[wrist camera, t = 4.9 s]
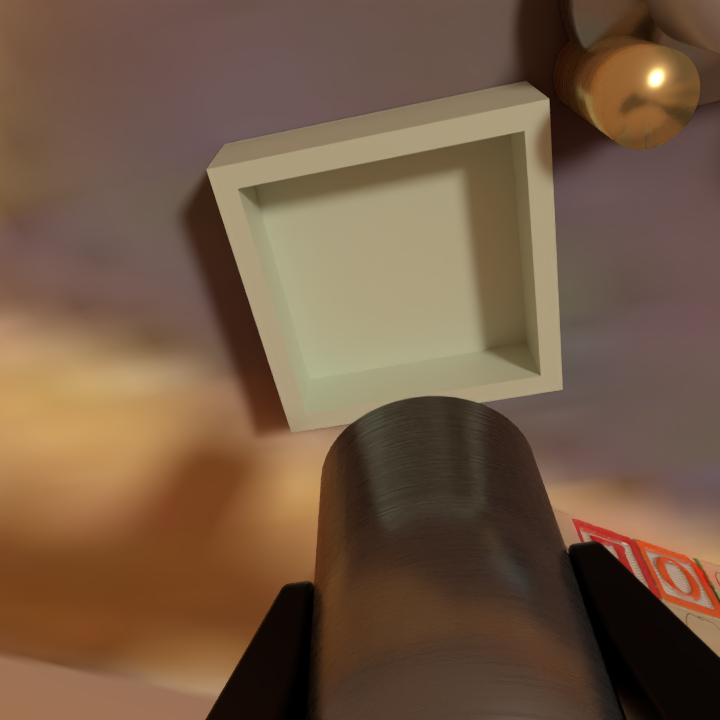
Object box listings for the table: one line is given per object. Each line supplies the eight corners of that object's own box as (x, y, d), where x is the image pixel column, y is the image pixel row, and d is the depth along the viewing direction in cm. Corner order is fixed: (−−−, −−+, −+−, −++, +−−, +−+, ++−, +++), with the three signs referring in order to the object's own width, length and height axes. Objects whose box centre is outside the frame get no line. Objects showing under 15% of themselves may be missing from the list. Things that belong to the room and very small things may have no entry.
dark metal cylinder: (541, 541, 12) (730, 1141, 6) (345, 569, 12) (335, 1159, 6) (529, 378, 10) (787, 1014, 4) (297, 416, 10) (219, 1052, 4)
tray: (542, 346, 21) (562, 389, 19) (297, 387, 22) (291, 432, 20) (525, 81, 17) (549, 98, 15) (224, 144, 18) (206, 169, 16)
